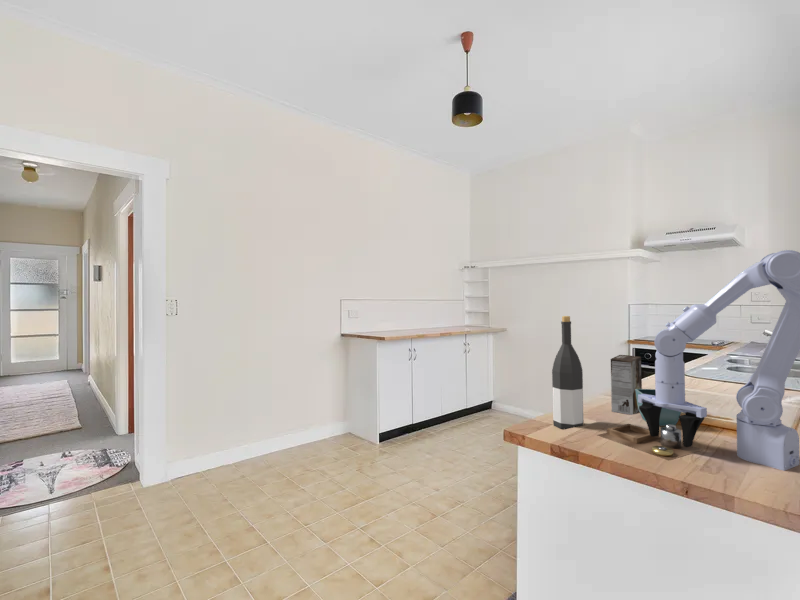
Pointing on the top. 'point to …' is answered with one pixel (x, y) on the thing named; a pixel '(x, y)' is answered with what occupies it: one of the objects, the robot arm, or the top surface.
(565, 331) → the wine bottle
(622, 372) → the coffee box
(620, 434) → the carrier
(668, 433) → the silver knobbed cylinder
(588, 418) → the top surface
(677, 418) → the flower pot
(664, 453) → the brass domed disc
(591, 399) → the top surface
